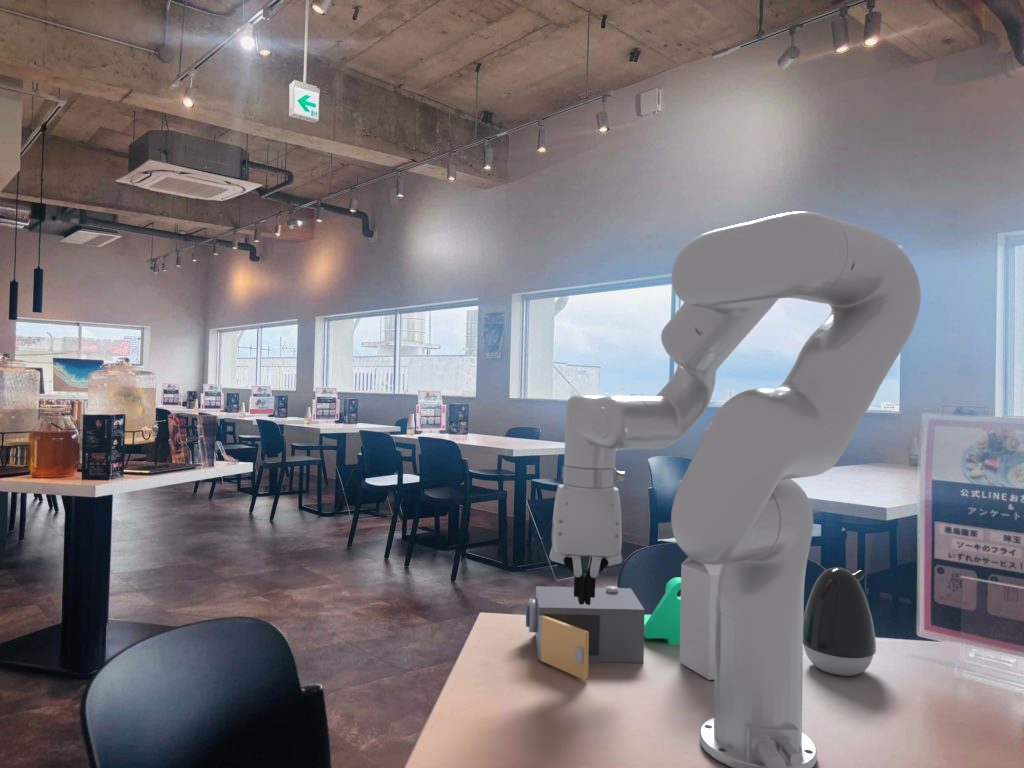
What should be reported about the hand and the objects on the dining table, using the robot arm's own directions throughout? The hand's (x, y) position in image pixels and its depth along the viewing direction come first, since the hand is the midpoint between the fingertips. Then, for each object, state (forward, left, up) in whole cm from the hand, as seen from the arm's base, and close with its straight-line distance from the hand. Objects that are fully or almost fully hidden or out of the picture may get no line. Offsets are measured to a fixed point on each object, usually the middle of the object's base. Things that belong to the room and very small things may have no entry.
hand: (583, 601), depth 104 cm
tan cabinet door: (-2, +3, -9) cm, 10 cm away
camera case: (+8, -1, -10) cm, 13 cm away
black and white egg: (+1, -38, -10) cm, 40 cm away
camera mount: (+15, -17, -10) cm, 25 cm away
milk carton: (0, -19, -10) cm, 22 cm away
